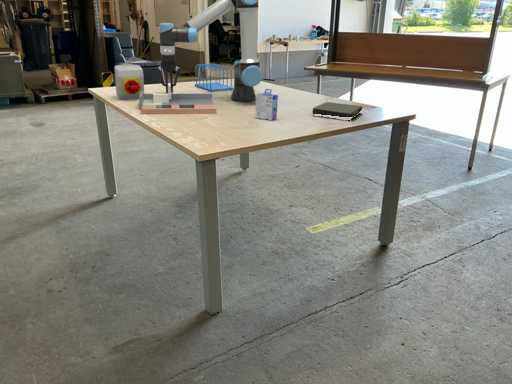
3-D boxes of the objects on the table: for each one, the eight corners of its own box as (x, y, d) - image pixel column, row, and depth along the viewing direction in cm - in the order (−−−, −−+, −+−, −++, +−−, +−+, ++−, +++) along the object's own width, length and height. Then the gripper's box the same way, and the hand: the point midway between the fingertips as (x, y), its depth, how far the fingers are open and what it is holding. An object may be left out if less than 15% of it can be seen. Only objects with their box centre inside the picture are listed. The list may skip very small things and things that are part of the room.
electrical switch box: (120, 105, 248) (118, 70, 238) (116, 97, 260) (114, 63, 250) (146, 104, 254) (144, 70, 244) (141, 96, 265) (139, 63, 255)
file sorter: (194, 86, 305) (194, 64, 299) (216, 85, 314) (216, 63, 308) (210, 92, 286) (209, 68, 280) (233, 90, 294) (233, 67, 288)
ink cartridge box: (277, 119, 218) (278, 89, 212) (271, 121, 213) (273, 91, 208) (260, 116, 222) (261, 87, 217) (254, 118, 218) (255, 89, 212)
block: (168, 100, 242) (168, 92, 240) (168, 103, 235) (168, 94, 233) (154, 100, 241) (153, 92, 239) (153, 103, 233) (153, 94, 232)
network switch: (356, 123, 216) (357, 113, 214) (310, 118, 223) (311, 108, 222) (362, 114, 237) (363, 104, 235) (320, 109, 244) (320, 100, 242)
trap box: (212, 103, 251) (211, 90, 248) (216, 113, 225) (216, 100, 223) (142, 103, 244) (141, 91, 241) (138, 114, 219) (137, 100, 216)
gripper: (154, 54, 224) (157, 100, 233) (180, 54, 227) (182, 100, 236) (155, 53, 231) (158, 97, 240) (180, 53, 233) (181, 97, 243)
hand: (169, 98), depth 238 cm, fingers closed
